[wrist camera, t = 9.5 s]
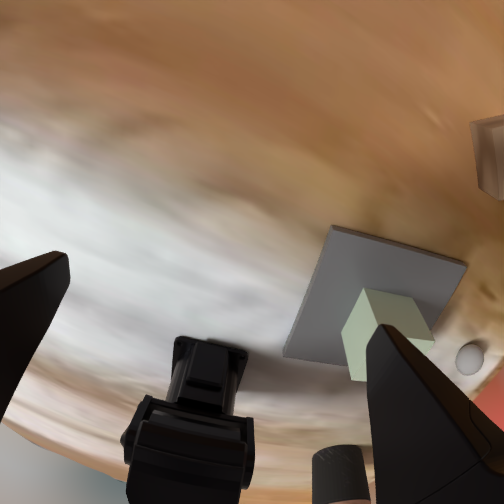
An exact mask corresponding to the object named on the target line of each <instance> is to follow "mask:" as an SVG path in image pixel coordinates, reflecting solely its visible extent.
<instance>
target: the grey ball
mask: <svg viewBox="0 0 504 504" xmlns="http://www.w3.org/2000/svg"><path fill="white" fill-rule="evenodd" d="M483 362H484V354H483V351H482V350H481V348H480V347H478V346H477V345H474V344H469V345H466V346H464V347H463V348H461V349H460V350H459V352H458V354H457V356H456V367H457V369H458V371H459V372H460V373H461V374H463V375H473V374H475V373H477V372H478V371H479V370H480V369H481V367H482V365H483Z"/></svg>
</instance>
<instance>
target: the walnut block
mask: <svg viewBox="0 0 504 504" xmlns="http://www.w3.org/2000/svg"><path fill="white" fill-rule="evenodd" d="M469 124H470V129H471V134H472V140H473V146H474V153H475V160H476V168H477V176H478V186H479V188H480V189H481V190H483V191H484V192H486V193H488V194H489V195H491V196H492V197H494V198H495V199H497V200H498V201H501V200H504V115H499V116H494V117H490V118H486V119H481V120H477V121H473V122H469Z"/></svg>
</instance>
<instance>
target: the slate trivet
mask: <svg viewBox="0 0 504 504" xmlns="http://www.w3.org/2000/svg"><path fill="white" fill-rule="evenodd" d="M466 268H467V266H466V265H465V264H464V263H463V262H461V261H458V260H454V259H451V258H448V257H444V256H441V255H438V254H434V253H431V252H428V251H424V250H421V249H418V248H414V247H411V246H407V245H404V244H400V243H397V242H393V241H389V240H386V239H382V238H379V237H375V236H371V235H368V234H364V233H360V232H356V231H353V230H349V229H345V228H341V227H337V226H334V225H331V227H330V229H329V232H328V235H327V238H326V241H325V243H324V246H323V249H322V252H321V254H320V257H319V260H318V263H317V265H316V268H315V271H314V273H313V276H312V278H311V281H310V284H309V286H308V289H307V292H306V294H305V297H304V299H303V302H302V304H301V307H300V309H299V312H298V314H297V317H296V319H295V322H294V324H293V327H292V329H291V332H290V334H289V336H288V339H287V341H286V344H285V346H284V348H283V357H288V358H294V359H300V360H307V361H313V362H320V363H327V364H335V365H343V366H348V362H347V357H346V353H345V348H344V344H343V339H342V335H341V331H342V330H343V328H344V326H345V324H346V322H347V320H348V318H349V316H350V314H351V312H352V310H353V308H354V306H355V304H356V302H357V300H358V298H359V296H360V294H361V292H362V290H363V288H368V289H372V290H377V291H382V292H387V293H391V294H396V295H401V296H406V297H411V298H413V300H414V302H415V303H416V305H417V307H418V309H419V311H420V313H421V315H422V316H423V318H424V320H425V322H426V324H427V326H428V328H429V330H431V328H432V327H433V325H434V324H435V322H436V321H437V319H438V317H439V316H440V314H441V312H442V311H443V309H444V308H445V306H446V304H447V302H448V301H449V299H450V297H451V296H452V294H453V292H454V290H455V289H456V287H457V285H458V283H459V281H460V280H461V278H462V276H463V274H464V272H465V270H466Z"/></svg>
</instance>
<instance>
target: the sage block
mask: <svg viewBox="0 0 504 504" xmlns="http://www.w3.org/2000/svg"><path fill="white" fill-rule="evenodd" d="M380 324H388V325H393V326H394V327H395V328H396V329H397V330H399V331H400V332H401V333H402V334H403V335H404V336H405V337H406V338H407V339H408V340H409V341H410V342H411V343H412V344H413V345H414V346H416V347H417V348H418V349H419V350H420V351H421V352H422V353H423V354H424V355H426V354H427V353H428V351H429V350H430V348H431V347H432V345H433V344H434V343H435V340H434V338H433V336H432V334H431V332H430V330H429V328H428V326H427V324H426V322H425V320H424V318H423V316H422V315H421V313H420V311H419V309H418V307H417V305H416V303H415V302H414V300H413V298H411V297H406V296H401V295H396V294H391V293H387V292H382V291H377V290H372V289H368V288H363V290H362V292H361V294H360V296H359V298H358V300H357V302H356V304H355V306H354V308H353V310H352V312H351V314H350V316H349V318H348V320H347V322H346V324H345V326H344V328H343V330H342V331H341V335H342V339H343V344H344V348H345V353H346V357H347V362H348V366H349V371H350V376H351V380H354V381H365V382H367V375H366V346H367V344H368V342H369V340H370V338H371V337H372V335H373V333H374V331H375V330H376V328H377V327H378V325H380Z"/></svg>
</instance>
